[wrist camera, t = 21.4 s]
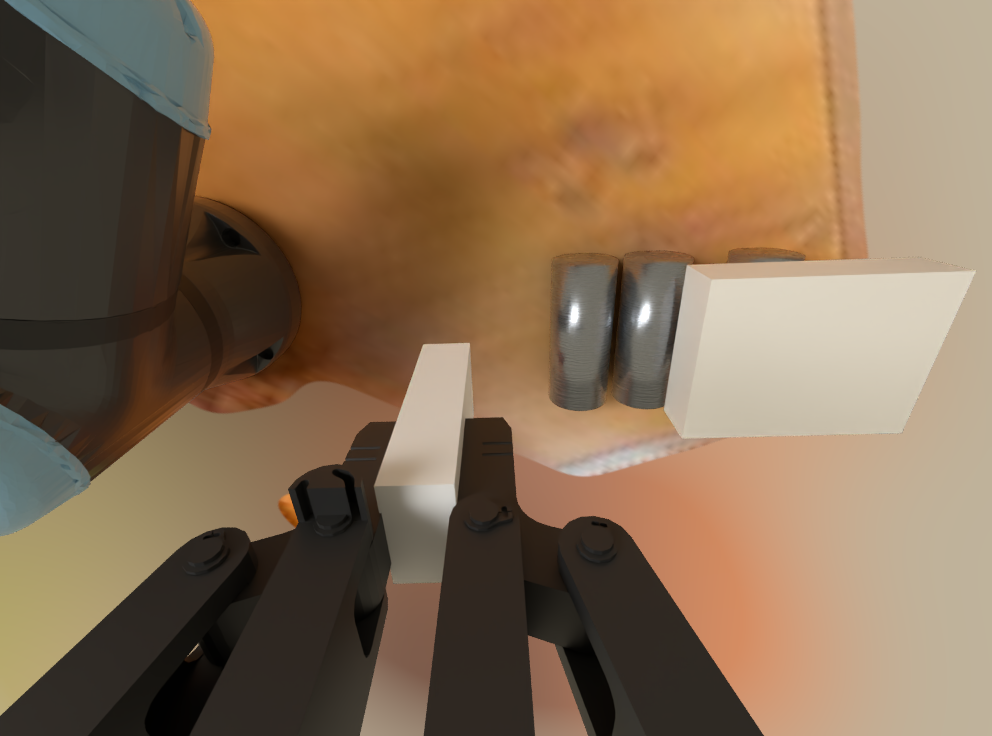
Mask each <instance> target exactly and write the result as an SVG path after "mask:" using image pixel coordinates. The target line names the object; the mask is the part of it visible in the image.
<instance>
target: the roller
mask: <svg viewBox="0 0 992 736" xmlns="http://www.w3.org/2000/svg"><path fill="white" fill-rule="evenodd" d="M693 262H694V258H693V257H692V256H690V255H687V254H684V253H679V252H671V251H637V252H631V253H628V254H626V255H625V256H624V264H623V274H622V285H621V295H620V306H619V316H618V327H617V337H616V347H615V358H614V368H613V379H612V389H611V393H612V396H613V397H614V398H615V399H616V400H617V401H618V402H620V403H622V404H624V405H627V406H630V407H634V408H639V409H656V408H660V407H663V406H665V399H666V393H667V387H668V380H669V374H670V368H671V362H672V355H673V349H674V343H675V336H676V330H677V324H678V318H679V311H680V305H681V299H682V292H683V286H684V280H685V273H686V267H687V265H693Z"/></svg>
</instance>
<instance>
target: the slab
mask: <svg viewBox="0 0 992 736" xmlns="http://www.w3.org/2000/svg"><path fill="white" fill-rule="evenodd" d="M975 273H976V271H975V270H971V269H967V268H963V267H958V266H955V265H950V264H946V263H942V262H938V261H934V260H930V259H926V258H922V257H904V258H875V259H844V260H815V261H786V262H757V263H728V264H699V265H687V267H686V273H685V280H684V286H683V292H682V299H681V305H680V311H679V318H678V324H677V330H676V336H675V343H674V349H673V355H672V362H671V368H670V374H669V380H668V387H667V393H666V399H665V406H664V411H665V413H666V414H667V416H668V418H669V419H670V421H671V422H672V424H673V425H674V427H675V429H676V430H677V432H678V433H679V435H680V436H681V438H682V439H688V438H729V437H771V436H810V435H811V436H812V435H853V434H894V433H902V432H903V430H904V427H905V425H906V423H907V421H908V419H909V417H910V414H911V412H912V410H913V408H914V406H915V403H916V401H917V399H918V397H919V395H920V393H921V390H922V388H923V386H924V384H925V381H926V380H927V377H928V375H929V373H930V371H931V368H932V366H933V364H934V362H935V360H936V357H937V356H938V353H939V351H940V349H941V347H942V345H943V343H944V340H945V338H946V336H947V334H948V331H949V329H950V327H951V325H952V323H953V321H954V318H955V316H956V314H957V312H958V310H959V308H960V305H961V303H962V301H963V299H964V297H965V295H966V292H967V290H968V288H969V286H970V284H971V281H972V279H973V277H974V275H975Z"/></svg>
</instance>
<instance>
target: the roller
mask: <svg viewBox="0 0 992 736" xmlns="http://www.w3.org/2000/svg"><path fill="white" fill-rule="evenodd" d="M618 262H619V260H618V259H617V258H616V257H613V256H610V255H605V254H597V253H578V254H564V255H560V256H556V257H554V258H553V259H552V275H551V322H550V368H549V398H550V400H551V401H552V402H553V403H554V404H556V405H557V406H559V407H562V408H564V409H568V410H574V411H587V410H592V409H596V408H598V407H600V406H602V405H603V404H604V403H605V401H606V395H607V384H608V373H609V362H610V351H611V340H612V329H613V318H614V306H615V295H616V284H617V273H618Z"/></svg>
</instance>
